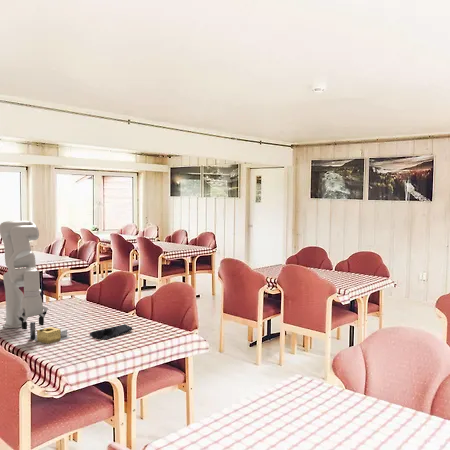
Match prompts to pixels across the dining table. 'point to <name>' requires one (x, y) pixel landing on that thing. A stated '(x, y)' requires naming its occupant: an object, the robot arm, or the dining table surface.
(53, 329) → the square hole fixture
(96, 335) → the dark slate chunk
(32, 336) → the grey metal peg
